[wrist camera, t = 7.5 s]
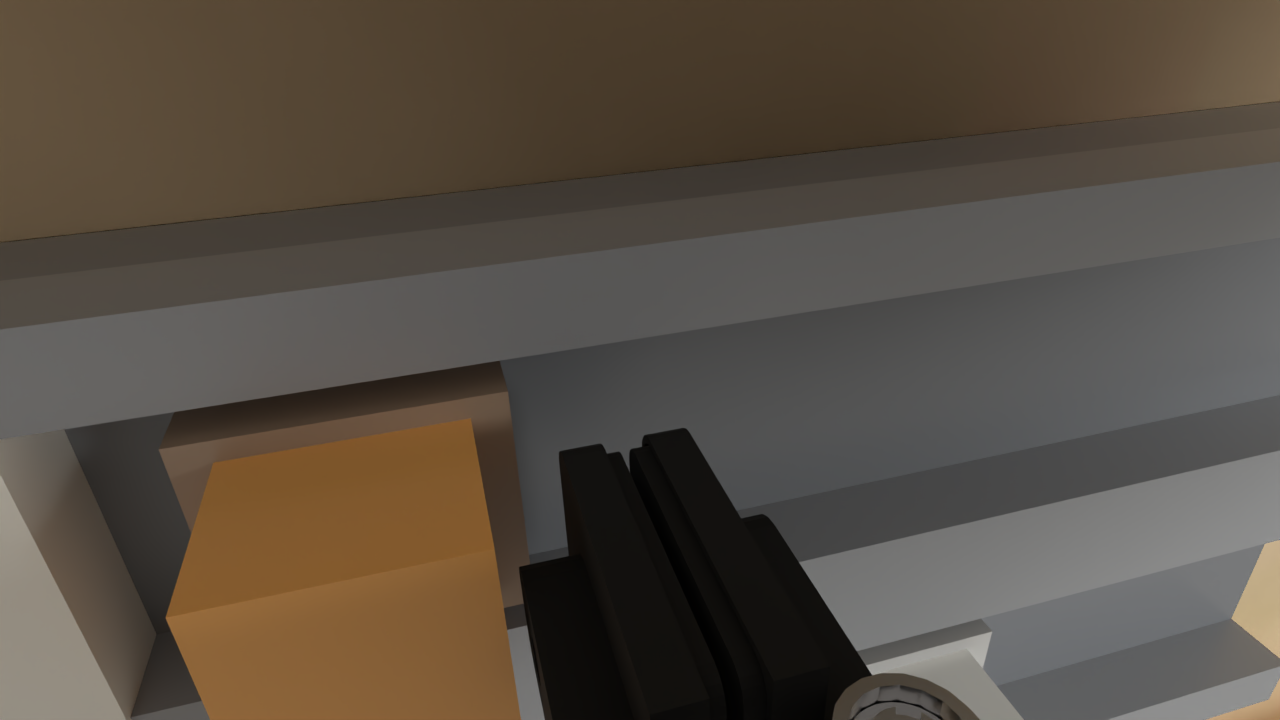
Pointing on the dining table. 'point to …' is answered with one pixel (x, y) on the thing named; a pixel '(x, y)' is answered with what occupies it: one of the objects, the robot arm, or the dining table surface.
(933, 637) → the tab white
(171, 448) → the tab orange
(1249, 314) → the switch panel
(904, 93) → the dining table surface
